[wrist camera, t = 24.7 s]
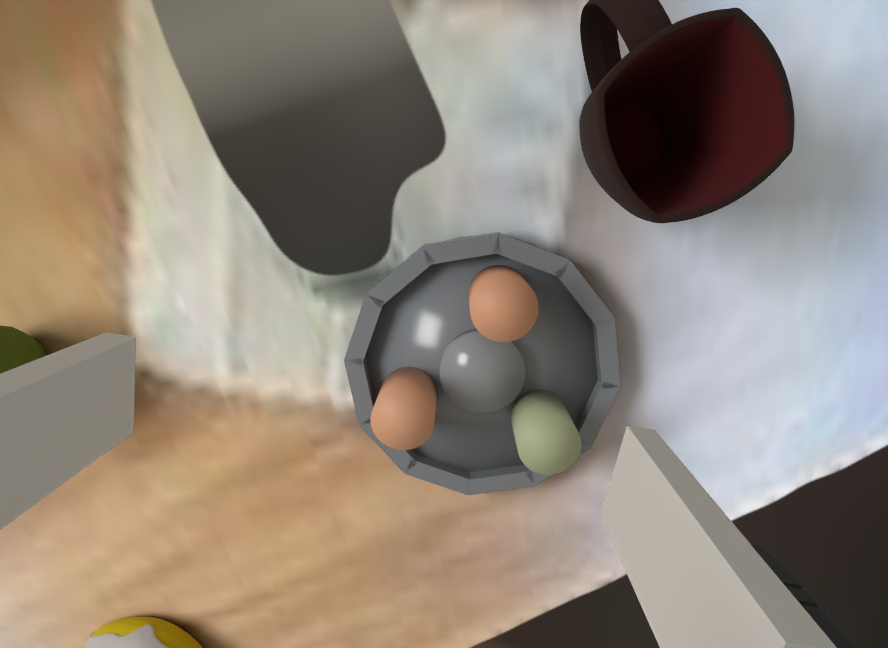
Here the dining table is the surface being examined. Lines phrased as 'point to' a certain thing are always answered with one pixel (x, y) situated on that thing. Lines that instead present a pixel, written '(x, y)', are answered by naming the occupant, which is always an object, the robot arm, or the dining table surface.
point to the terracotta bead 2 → (502, 304)
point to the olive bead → (544, 432)
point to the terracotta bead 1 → (405, 409)
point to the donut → (140, 635)
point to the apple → (17, 348)
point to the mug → (681, 108)
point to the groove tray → (483, 358)
